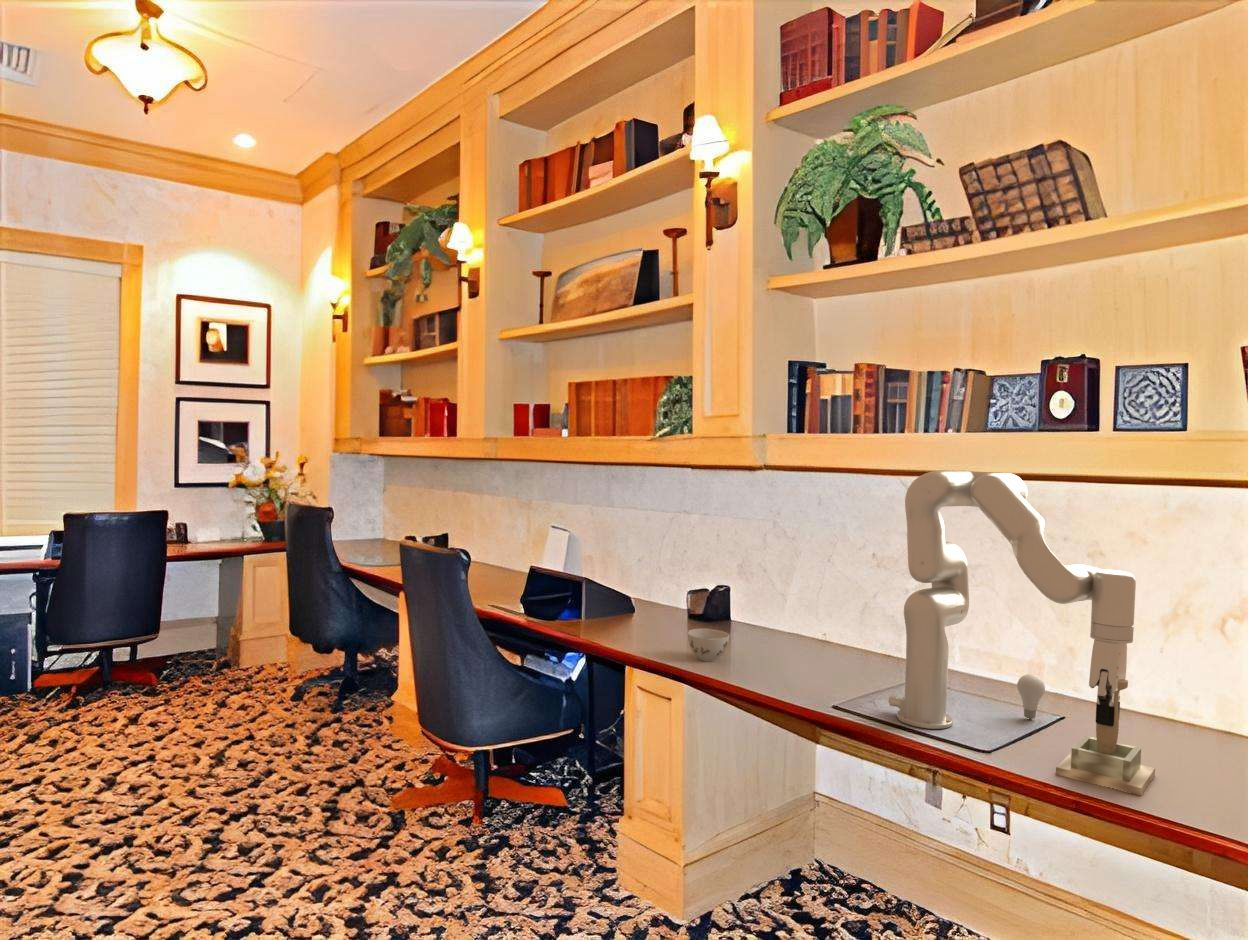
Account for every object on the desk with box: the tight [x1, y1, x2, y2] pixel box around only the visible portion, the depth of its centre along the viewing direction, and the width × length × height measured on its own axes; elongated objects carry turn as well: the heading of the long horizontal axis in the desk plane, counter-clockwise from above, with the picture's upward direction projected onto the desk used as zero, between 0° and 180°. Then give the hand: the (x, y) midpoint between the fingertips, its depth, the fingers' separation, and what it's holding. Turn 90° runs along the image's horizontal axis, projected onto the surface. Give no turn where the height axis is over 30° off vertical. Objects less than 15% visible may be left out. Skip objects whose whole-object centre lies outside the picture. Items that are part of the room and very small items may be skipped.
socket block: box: [1055, 735, 1156, 796], centre depth 175 cm, size 15×14×6 cm
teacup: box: [687, 628, 730, 662], centre depth 260 cm, size 15×12×8 cm
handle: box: [1095, 678, 1129, 754], centre depth 174 cm, size 5×6×15 cm
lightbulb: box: [1016, 673, 1046, 720], centre depth 209 cm, size 6×6×11 cm
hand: (1107, 721), depth 174 cm, fingers closed on handle, 3 cm apart
